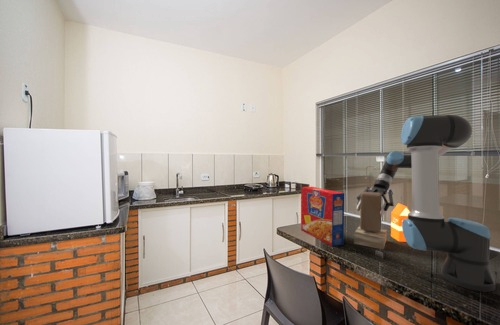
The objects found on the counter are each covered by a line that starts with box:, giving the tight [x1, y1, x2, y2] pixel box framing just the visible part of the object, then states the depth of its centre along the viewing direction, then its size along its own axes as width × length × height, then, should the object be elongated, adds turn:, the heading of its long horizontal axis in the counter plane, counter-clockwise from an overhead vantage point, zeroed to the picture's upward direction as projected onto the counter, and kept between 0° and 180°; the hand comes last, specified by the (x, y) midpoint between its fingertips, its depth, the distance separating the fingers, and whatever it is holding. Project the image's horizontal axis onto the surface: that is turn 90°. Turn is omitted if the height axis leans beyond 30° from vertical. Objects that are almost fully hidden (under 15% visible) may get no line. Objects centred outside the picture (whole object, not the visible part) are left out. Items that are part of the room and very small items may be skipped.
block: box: [359, 191, 383, 232], centre depth 127 cm, size 10×10×20 cm
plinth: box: [353, 225, 387, 250], centre depth 127 cm, size 16×14×6 cm
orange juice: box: [390, 202, 411, 243], centre depth 132 cm, size 8×9×20 cm
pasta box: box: [300, 186, 345, 247], centre depth 135 cm, size 28×8×28 cm, turn 22°
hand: (368, 212), depth 125 cm, fingers closed on block, 12 cm apart
